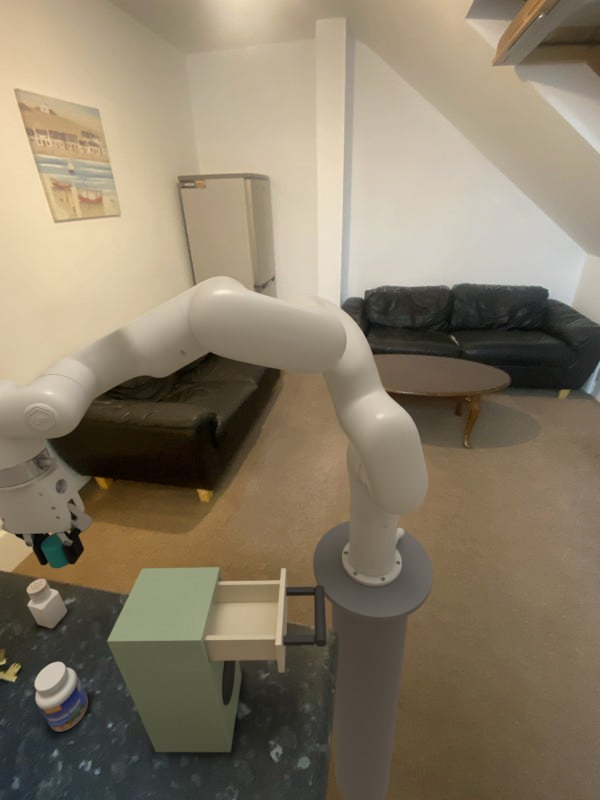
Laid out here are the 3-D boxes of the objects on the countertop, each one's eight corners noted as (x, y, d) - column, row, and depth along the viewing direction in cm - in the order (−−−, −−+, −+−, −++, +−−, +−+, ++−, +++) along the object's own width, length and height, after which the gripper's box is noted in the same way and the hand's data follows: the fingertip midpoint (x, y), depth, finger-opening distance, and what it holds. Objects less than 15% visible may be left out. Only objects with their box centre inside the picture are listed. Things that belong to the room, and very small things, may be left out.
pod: (73, 544, 63) (65, 527, 61) (80, 557, 60) (72, 539, 59) (47, 558, 61) (38, 541, 59) (53, 573, 58) (43, 554, 56)
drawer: (324, 593, 53) (323, 567, 51) (327, 672, 44) (327, 644, 42) (213, 595, 54) (207, 569, 52) (193, 673, 45) (185, 645, 42)
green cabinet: (243, 675, 62) (222, 566, 51) (232, 752, 53) (203, 640, 42) (177, 676, 63) (141, 568, 52) (155, 752, 54) (106, 641, 43)
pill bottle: (54, 742, 55) (30, 706, 51) (47, 710, 59) (25, 675, 55) (93, 712, 59) (74, 677, 54) (84, 684, 62) (66, 649, 58)
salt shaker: (54, 607, 76) (37, 574, 72) (69, 611, 75) (53, 578, 70) (36, 625, 72) (18, 592, 68) (52, 630, 71) (35, 597, 67)
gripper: (90, 448, 56) (123, 538, 63) (-16, 453, 56) (29, 541, 64) (60, 480, 49) (101, 576, 57) (-61, 485, 50) (-3, 579, 57)
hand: (63, 556), depth 60 cm, fingers closed on pod, 4 cm apart
